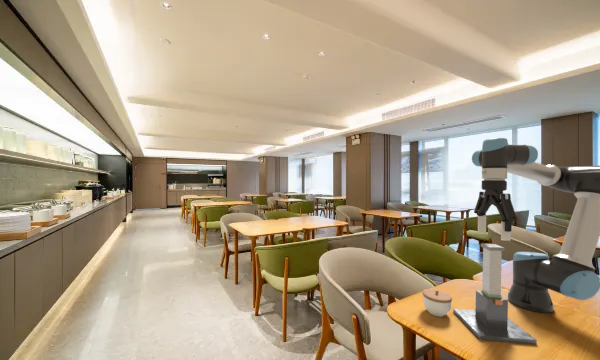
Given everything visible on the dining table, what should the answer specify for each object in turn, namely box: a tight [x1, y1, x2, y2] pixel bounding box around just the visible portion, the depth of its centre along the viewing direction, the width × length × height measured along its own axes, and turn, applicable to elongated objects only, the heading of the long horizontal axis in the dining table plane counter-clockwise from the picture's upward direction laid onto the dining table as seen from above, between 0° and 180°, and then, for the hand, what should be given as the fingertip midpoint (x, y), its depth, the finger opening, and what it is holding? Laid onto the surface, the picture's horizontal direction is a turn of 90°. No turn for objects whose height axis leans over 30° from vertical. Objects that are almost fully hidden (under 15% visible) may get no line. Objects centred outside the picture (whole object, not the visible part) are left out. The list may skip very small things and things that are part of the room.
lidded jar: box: [422, 288, 453, 318], centre depth 104 cm, size 11×11×9 cm
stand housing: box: [453, 289, 538, 345], centre depth 94 cm, size 18×18×12 cm
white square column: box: [480, 243, 506, 298], centre depth 94 cm, size 5×5×21 cm
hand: (492, 236), depth 94 cm, fingers open, 13 cm apart
